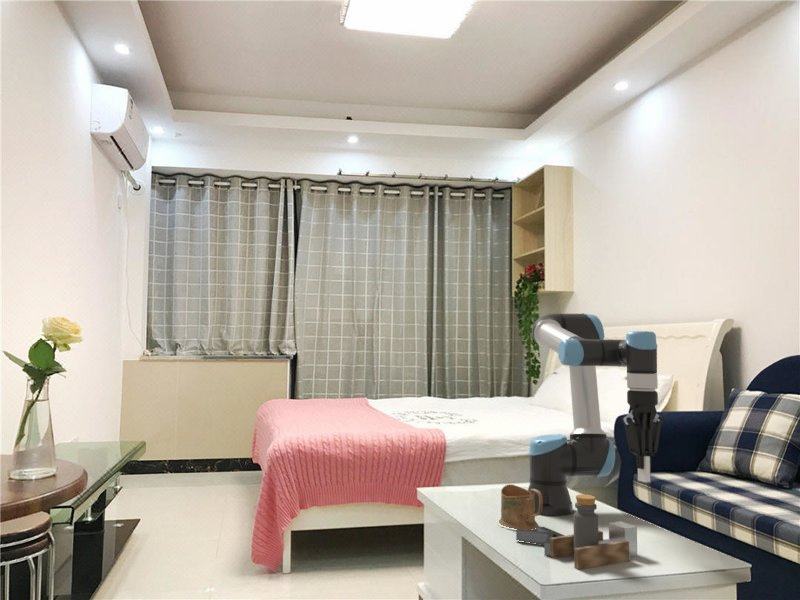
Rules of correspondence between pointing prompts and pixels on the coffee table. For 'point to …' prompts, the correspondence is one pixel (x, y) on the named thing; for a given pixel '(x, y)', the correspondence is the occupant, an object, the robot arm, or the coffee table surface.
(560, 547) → the parallel wooden rails
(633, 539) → the grey stepped block
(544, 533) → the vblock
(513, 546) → the coffee table surface
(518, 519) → the mug
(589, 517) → the bottle
